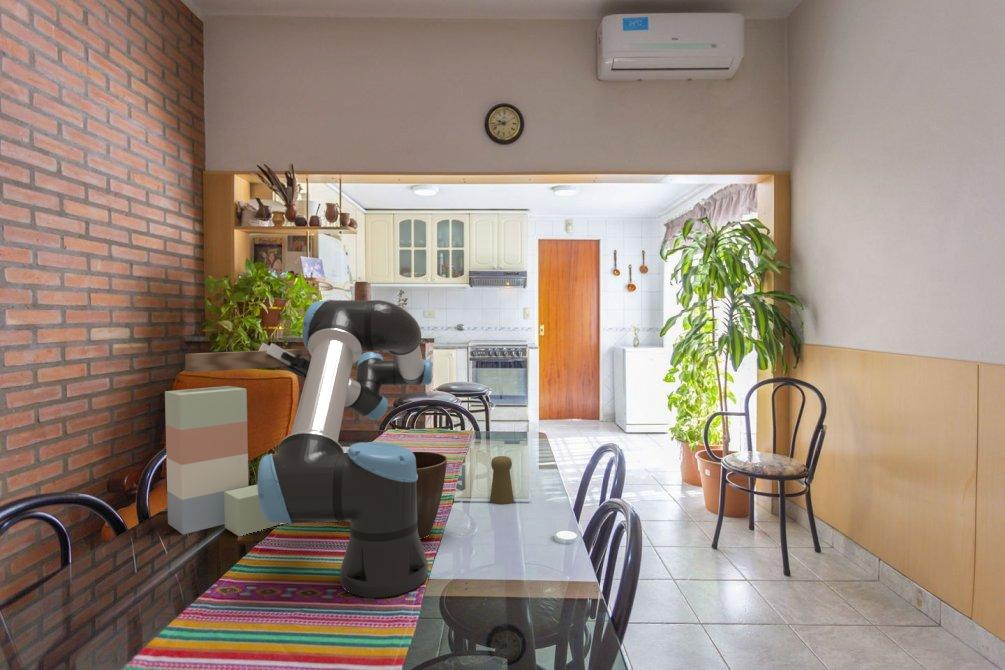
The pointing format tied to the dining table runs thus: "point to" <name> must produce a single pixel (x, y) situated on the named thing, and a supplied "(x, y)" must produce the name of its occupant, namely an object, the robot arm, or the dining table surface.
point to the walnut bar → (233, 360)
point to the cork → (501, 481)
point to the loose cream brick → (244, 511)
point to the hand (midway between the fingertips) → (265, 348)
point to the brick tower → (204, 453)
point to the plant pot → (429, 488)
